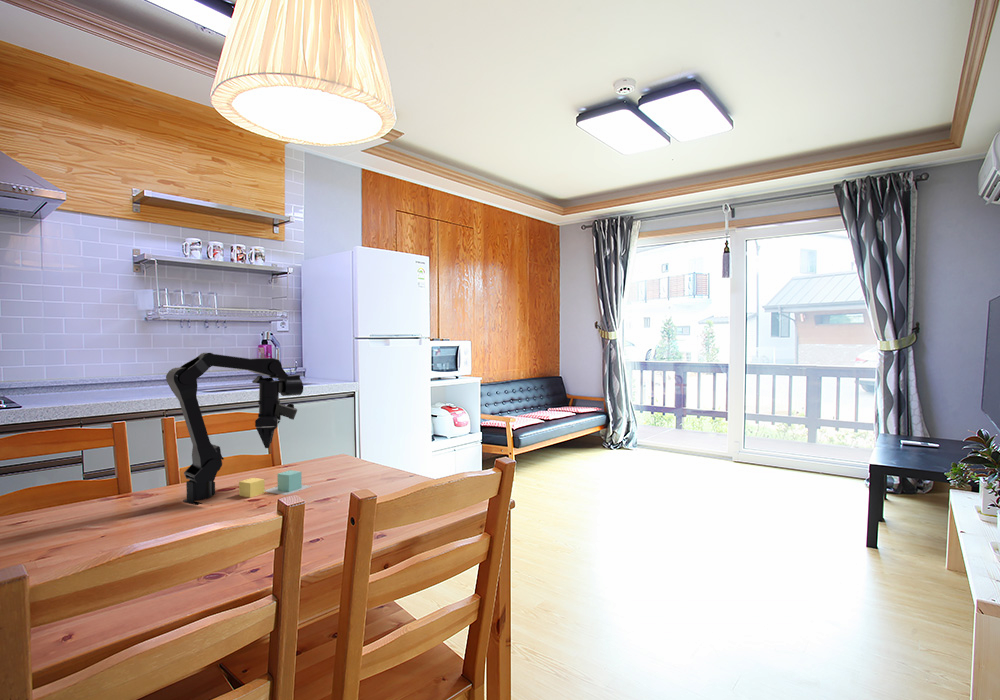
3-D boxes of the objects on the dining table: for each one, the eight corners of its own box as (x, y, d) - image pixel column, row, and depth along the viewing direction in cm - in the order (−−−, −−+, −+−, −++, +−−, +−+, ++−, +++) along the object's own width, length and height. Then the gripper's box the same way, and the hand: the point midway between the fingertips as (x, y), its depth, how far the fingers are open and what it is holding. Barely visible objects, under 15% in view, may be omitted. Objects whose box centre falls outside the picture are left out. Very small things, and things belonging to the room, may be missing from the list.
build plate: (285, 497, 149) (285, 494, 149) (262, 493, 154) (262, 491, 154) (311, 488, 158) (311, 486, 158) (288, 485, 163) (288, 482, 163)
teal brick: (289, 491, 152) (288, 475, 152) (277, 490, 154) (277, 473, 154) (301, 487, 157) (301, 471, 157) (290, 486, 159) (290, 470, 159)
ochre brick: (250, 500, 147) (250, 483, 147) (239, 498, 149) (239, 481, 149) (264, 496, 152) (264, 479, 151) (253, 494, 154) (253, 477, 154)
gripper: (295, 398, 157) (294, 449, 157) (296, 394, 174) (296, 439, 174) (255, 399, 153) (254, 451, 153) (261, 394, 170) (260, 441, 170)
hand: (268, 445), depth 163 cm, fingers open, 9 cm apart
